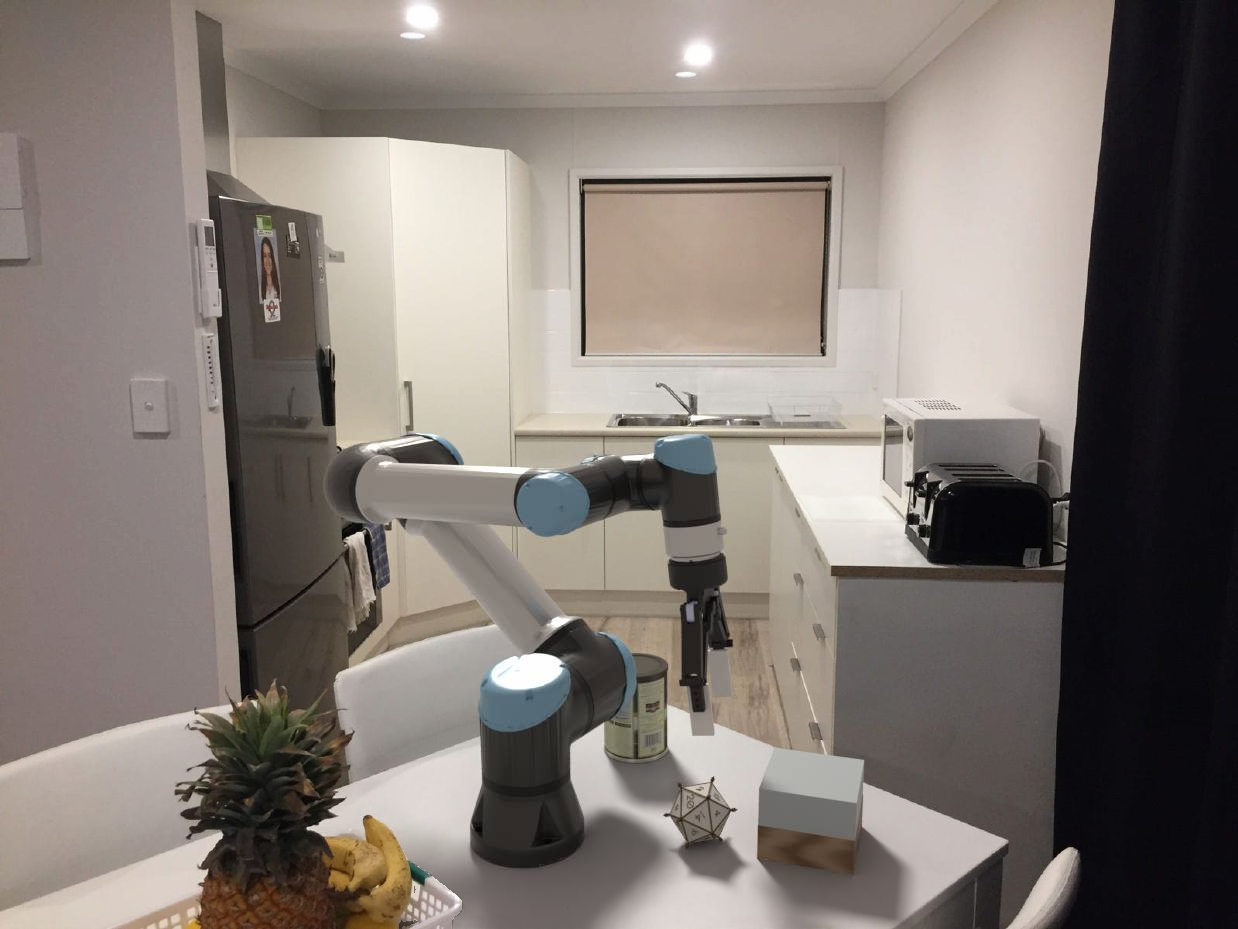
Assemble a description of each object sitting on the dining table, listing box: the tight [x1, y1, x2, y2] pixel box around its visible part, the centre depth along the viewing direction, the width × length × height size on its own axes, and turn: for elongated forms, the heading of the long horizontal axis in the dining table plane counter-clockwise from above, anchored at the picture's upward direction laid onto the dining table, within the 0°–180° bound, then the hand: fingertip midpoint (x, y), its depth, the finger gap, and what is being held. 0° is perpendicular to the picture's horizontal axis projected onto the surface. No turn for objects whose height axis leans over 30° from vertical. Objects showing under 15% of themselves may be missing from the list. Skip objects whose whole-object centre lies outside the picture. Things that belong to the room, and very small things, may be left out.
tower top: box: [757, 747, 865, 841], centre depth 130 cm, size 12×12×5 cm
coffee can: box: [603, 652, 669, 764], centre depth 157 cm, size 10×10×14 cm
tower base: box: [756, 796, 864, 876], centre depth 131 cm, size 12×12×5 cm
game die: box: [662, 775, 739, 850], centre depth 131 cm, size 9×8×10 cm
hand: (713, 714), depth 130 cm, fingers open, 13 cm apart
